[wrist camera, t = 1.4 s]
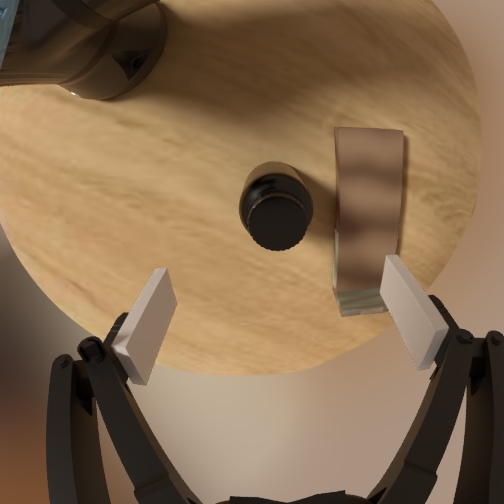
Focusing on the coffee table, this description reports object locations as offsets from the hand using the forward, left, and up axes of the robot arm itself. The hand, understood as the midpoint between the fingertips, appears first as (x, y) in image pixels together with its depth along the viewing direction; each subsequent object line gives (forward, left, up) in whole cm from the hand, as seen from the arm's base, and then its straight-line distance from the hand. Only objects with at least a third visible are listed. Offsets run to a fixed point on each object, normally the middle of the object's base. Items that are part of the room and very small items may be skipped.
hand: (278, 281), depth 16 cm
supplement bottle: (-1, 0, -19) cm, 19 cm away
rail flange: (+3, +12, -19) cm, 22 cm away
